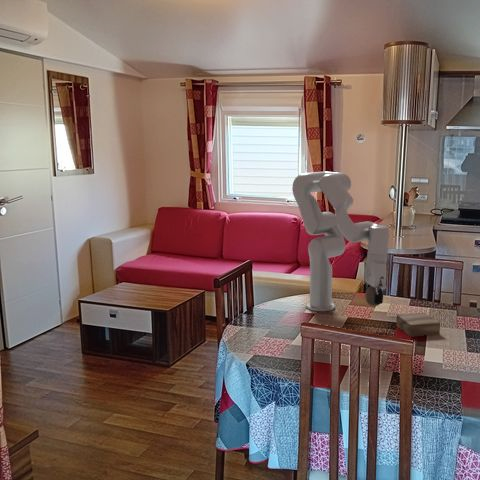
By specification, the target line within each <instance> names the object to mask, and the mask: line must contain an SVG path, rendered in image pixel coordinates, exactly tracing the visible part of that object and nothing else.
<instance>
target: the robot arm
mask: <svg viewBox="0 0 480 480" xmlns="http://www.w3.org/2000/svg"><path fill="white" fill-rule="evenodd" d="M351 186H352V180H351V178H350V177H349V175H347V173H344V172H333V171H314V172H311V171H310V172H305V173H301V174H299V175H297V176H296V177H295V178H294V180H293V183H292V187H291V188H292V190H291V191H292V194H293V195H292V196H293V197H294V199H295V202H296V204H297V206H298V209H299V211H300V212H299V213H300V217H301V218H302V222H303V226H304V228H305V231H306V233H307V234H308V235H310V236H319V235H324V236H319V237H315V238H313V239H312V240H311V241H310V242H309V243H308V246H307V252H308V256H309V269H310V270H309V301H308V302H307V303H306V304H305V305H306V306H305V307H306V308H307V309H308V310H310V311H314V312H330V311H333V310H334V309H335V307H336V305H335V304H334V302H332V299H333V298H332V296H333V294H332V293H333V292H332V291H333V289H332V288H333V267H332V264H331V262H330V259H329V258H335V257H339V256H341V255H342V254H344V252H345V250H346V241H345V240H347V241H348V242H350V243H359V242H367V241H368V242H367V243H368V244H367V256H366V257H367V258H366V262H365V267H364V274H363V275H364V276H363V281H364V282H365V284H366V285H365V287H366V288H365V291H366V290H367V289H368V288H369V287H370V286H372V287H374V288H376V294H375V304H379V305H382V304H383V303H384V301H383V300H384V295H385V292H386V290H387V285H386V284H387V262H388V254H389V250H388V249H389V241H390V240H389V239H390V229H389V227H388V226H387V225H381V224H377V223H375V222H373V221H359V222H353V220H352V219H351V217H350V216H349V214H348V210H349V209H350V208H351V207H352V206H353V204H354V198H353V197H352V195H351V194H350V193H349V191H350V189H351ZM314 192H315V193H316V192H322V193H323V194H324V196H325V198H326V199H327V200H328V202H329V203H330V205H331V206H332V207H333V209H334V210H335V214H334V213H333V212H331V211H323V212H322V210H321V209H320V206H319V202H318V201H317V198H316V197H314V195H312V193H314ZM378 285H379V286H378ZM378 288H381V289H380V290H378Z"/></svg>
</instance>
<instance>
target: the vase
mask: <svg viewBox="0 0 480 480" xmlns="http://www.w3.org/2000/svg"><path fill="white" fill-rule="evenodd" d="M378 286H380V285H378ZM380 289H381V288H378V290H380ZM375 294H376V288H374V287H372V286H370V287H369V288H368V289H367V290H366V289H365V294H364V295H365V296H364V297H365V298H364V299H365V302H366V303H367V304H368V305H369V306H372V307H373V306H374V307H377V306H379V305H380V304H375Z"/></svg>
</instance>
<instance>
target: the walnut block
mask: <svg viewBox="0 0 480 480" xmlns="http://www.w3.org/2000/svg"><path fill="white" fill-rule="evenodd" d="M395 321H396V323H395V325H396V327H397V328H398V329H400V331H403V332H404V333H405V334H406V335H407V336H408V337H410V338H411V337H425V336H424V335H426V336H437V335H439V336H440V333H441V322H440V321H438V320H437V319H435V318H434V317H432V316H431V315H429V314H428V313H426V312H417V313H401V314H399V313H398V314H396V320H395Z"/></svg>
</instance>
